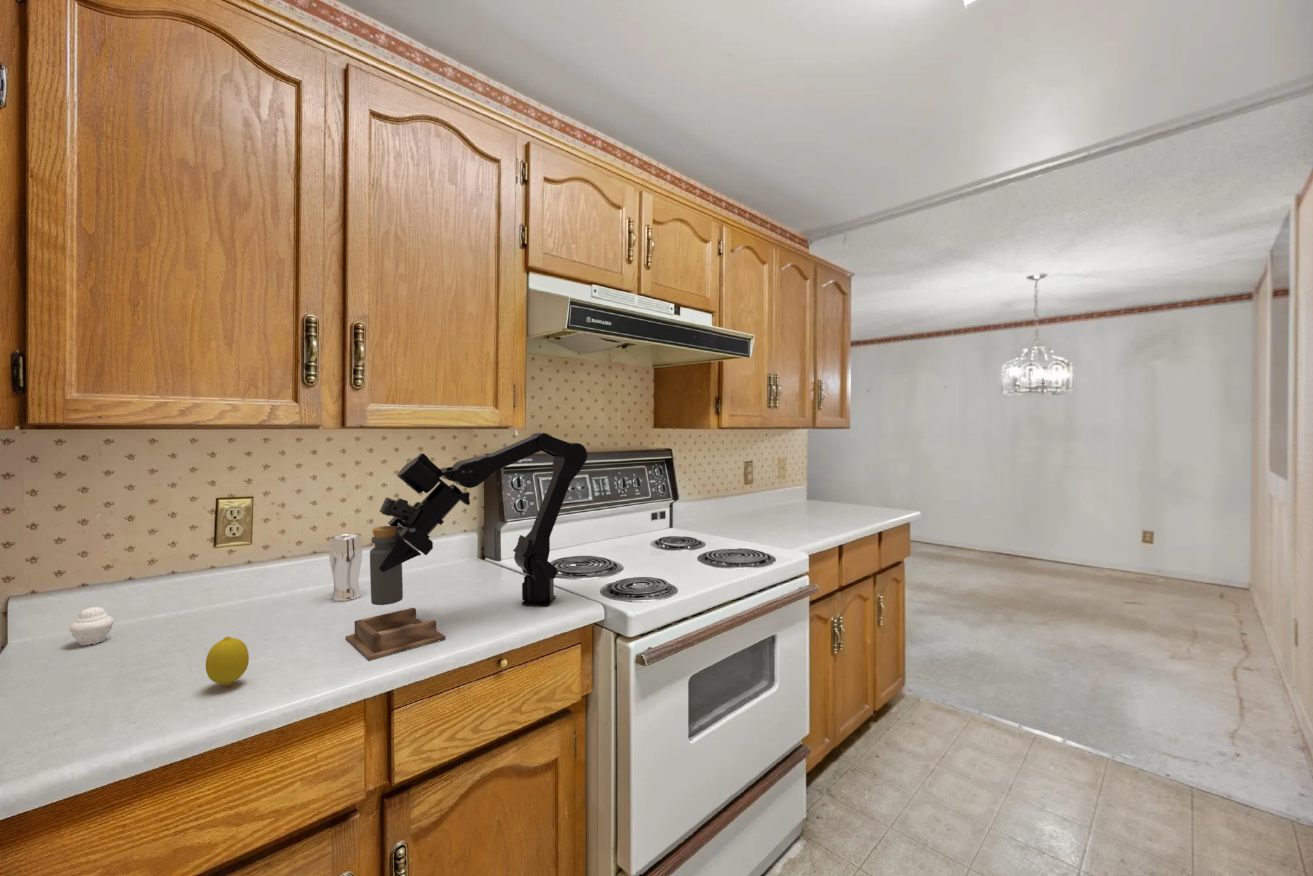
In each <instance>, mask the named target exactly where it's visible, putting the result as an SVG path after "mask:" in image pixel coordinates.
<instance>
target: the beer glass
mask: <svg viewBox="0 0 1313 876" xmlns="http://www.w3.org/2000/svg"><path fill="white" fill-rule="evenodd" d="M361 536H362V535H361V534H360V533H359V534H358V533H345V534H338V535H333V536H331V537H329V551H328V554H329V558H328V559H329V565H330V569H331V575H332V579H333V592H332V596H331V599H333V600H332V601H334V600H335V601H334V602H347V600H349V601H351V600H350V599H353V600H356V599H358V597H359V598H360V597H361V594H362V593H361V589H360V583H359V582H360V581H359V579H360V571H361V566H362V560H363V547H362V546H363V545H362V537H361ZM355 598H356V599H355Z"/></svg>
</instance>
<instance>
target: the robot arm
mask: <svg viewBox="0 0 1313 876" xmlns="http://www.w3.org/2000/svg"><path fill="white" fill-rule="evenodd" d="M538 452H543V453H544V454H546V455H548V456H550V457H553V461H552V477H551V478H550V479H551V480H550V481H549V485H548V487H547V490H546V492H545V494H544V498H542V499H543V500H542V502H541V505H540V507H539V509H538V512H537V515H536V517H535V520H534V522H533V525H532V527H531V530H530V531H529V532H528V533H527V534H526V536H524V535H521V534H520V535H519V537H518V539H517V544H516V547H514V549H513V550H512V552H514V557H513V558H514V561H515V564H516V566H518V567H519V568H521V570H522V573H523V574H525V576H523V582H522V583H521V600H522V602H521V605H522V606H536V607H537V606H540V607H541V606H542V607H549V606H550V605H551V604H552V603H553V602H554V600H556V598H557V595H555V593H554V590H555V587H554V586H555V585H554V584H555V582H554V579H556V576H557V572H558V569H557V568H556V567H555V566H554V565H553V564H552V563H550V561H548V560H549V556H550V551H551V546H550V545H551V542H550V539H551V535H552V532H553V530H554V527H555V524H556V522H557V520H558V516H559V514H560V511H561V508H562V506H563V503H564V500H565V498H566V496H567V493H568V491H569V488H570V485H571V483H572V481H573V480H574V479H575V478H576V476H577V475H578V474H580V472H581V471H582V468H583V467H584V465H585V464H586V462H587V460H588V451H587V449H586V447H585V445H583V444H581V443H578V442H568V441H565V440H563V439H559V438H557V437H554V436H551V435H550V434H549V433H546V432H535V433H533V434H532V435H531V436H528V437H526V438H523V439H522V440H519V441H517V442H514V443H512V444H510V445H507V446H505V447H503V448H500V449H498V450H496V451H494V452H492V453H491V452H490V453H489V454H485V455H481V456H474V457H470V458H465V459H461V460H458V461H456V462H455V463H453V465H452V466H449V467H442V468H439V467H438V466H437V465H436V464H435V463H434V462H433V461H432V460H430V458H429V456H427V455H425V453H419V454H418V456H416V457H415V458H413V459H412V460H411V461H410V462H407V463H406V464H404V465H403V467H402V468H401V469H400V470H399V472H398V473H397V478H399V479H400V480H401V481H402V482H404V483H405V484H406V485H407V486H408V487H409V488H411V489H412V490H413V491H414V492H416V493H417V494H421V493H423V492H424V493H425V494H427V496H426V497H424V499H423V500H422V501H416V502H415V503H414V504H413V505H410V504H409V501H408V500H406V499H403V498H401V497H399V498H397V499H396V500H395V499H393V498H391V497H390V498H389V497H387V496H386V497H385V499H384V501H383V503H382V506H381V507H380V510H379V512H380V514H382V515H384V516H387V517H392V518H391V519H390V520H389V521H388V523H387V524H388V526H397V527H398V530H397V534H396V535H395V546H394V548H393V549H392V550H391V552H390V553H389V555H388V556H387V557H386V559H385V560H384V562H383V563H382V565H381V566H380V568H379V569H380V570H381V571H382V572H385V571H387V570H389V569H391V568H393V567H395V566H397V565H399V564H401V563H402V564H403V563H405V562H407V561H409V560H411V559H413V558H416V557H418V556H419V557H420V556H421V555H422V554H423V555H425V556H427V555H428V554H429V553H431V551H432V550H433V549H434V547H433V545H434V543H433V542H434V541H432V540H431V539H430V538H431V536H430V534H431V532H433V531H434V530H435V528H436V527H437V526H438V525H440V526H441V525H442V524H444V522H445V521H444V518H445V517H446V516H447V515H448V514H450V512H451V511H452V509H454V508H455V506H456V505H458V504H459V503H460V502H462V504H463V505H467V506H470V504H471V502H470V501H471V500H470V495H471V493H470V492H469V491H462V490H461V489H460V488H459V487H457V485H458V486H460V487H463V488H466V489H467V488H468V489H472V488H475V487H477V486H478V487H479V485H480V484H482V483H484V482H485V481H486V480H488V479H489V478H490V477H491V476H493V475H494V474H495V473H496V472H498V471H499V470H501V469H503V468H506V467H507V466H510V465H513V464H515V463H516V462H519V461H521V460H524V459H526V458H528V457H530V456H533V455H534V454H537V453H538ZM442 479H444V480H446V481H450V482H453V483H452V484H450V485H448V484H447V483H446V482H445V481H443V480H442ZM428 493H429V494H428ZM398 535H399V536H398Z"/></svg>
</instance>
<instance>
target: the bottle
mask: <svg viewBox="0 0 1313 876" xmlns="http://www.w3.org/2000/svg"><path fill="white" fill-rule="evenodd" d="M371 530H372V534H373V536H372V537H371V543H372V544H374V547H373V548H372V549H370V550H369V572H370V573H369V574H370V577H369V578H370V603H371V604H373V605H375V606H385V605H391V604H396V603H398V602H400V601H402V600H403V598H404V595H403V594H404V592H403V591H404V588H403V585H404V584H403V563H401V564H399V565H397V566H395V567H393V568H391V569H389V570H387V571H385V572H382V571H381V570H380V569H379V568H380V566H381V565H382V563H383V562H384V560H385V559H386V557H387V556H388V555H389V553H390V552H391V550H392V549H393V548H394V546H395V535H396V534H397V530H398V527H397V526H390V525H382V526H377V527H373V528H372V529H371ZM398 536H399V535H398Z"/></svg>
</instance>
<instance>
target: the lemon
mask: <svg viewBox="0 0 1313 876" xmlns="http://www.w3.org/2000/svg"><path fill="white" fill-rule="evenodd" d="M249 656H250V654H249V651H248V646H247V645H246V644H245V642H243V641H242V640H241V639H239V638H235V637H231V636H225V637H224V638H223V639H221V640H219V641H217V642H216V643H214V645H213V646H211V648H210V649H209V651H208V653H207V656H206V658H205V670H206V671H205V672H206V674H207V677H208V678H209V680H211V681H212V682H213V683H215V684H220V685H223V686H224V687H229V686H231V685H232V684H233V683H234V682H235V681H237V680H238V679H240V678H241V677H242V676H243V675H244V674H245V672H246V670H247V669H248V666H249V659H250V657H249Z"/></svg>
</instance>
